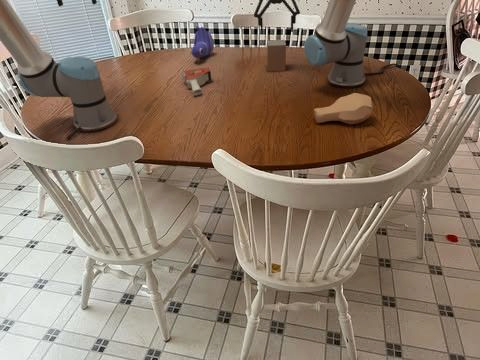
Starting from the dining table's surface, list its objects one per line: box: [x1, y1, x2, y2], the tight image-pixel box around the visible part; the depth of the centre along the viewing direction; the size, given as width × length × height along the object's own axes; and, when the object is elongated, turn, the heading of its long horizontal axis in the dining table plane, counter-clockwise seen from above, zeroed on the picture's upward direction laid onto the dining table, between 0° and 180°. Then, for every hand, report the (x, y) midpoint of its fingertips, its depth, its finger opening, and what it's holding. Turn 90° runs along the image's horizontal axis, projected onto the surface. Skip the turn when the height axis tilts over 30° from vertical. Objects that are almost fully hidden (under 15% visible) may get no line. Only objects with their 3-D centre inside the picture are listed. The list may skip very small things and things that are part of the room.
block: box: [266, 39, 287, 73], centre depth 168 cm, size 8×9×12 cm
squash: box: [313, 92, 374, 125], centre depth 122 cm, size 11×20×9 cm, turn 92°
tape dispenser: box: [180, 66, 212, 96], centre depth 156 cm, size 18×5×20 cm
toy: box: [190, 26, 215, 63], centre depth 186 cm, size 10×17×25 cm
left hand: (78, 4), depth 140 cm, fingers open, 13 cm apart
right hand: (276, 32), depth 161 cm, fingers open, 13 cm apart
